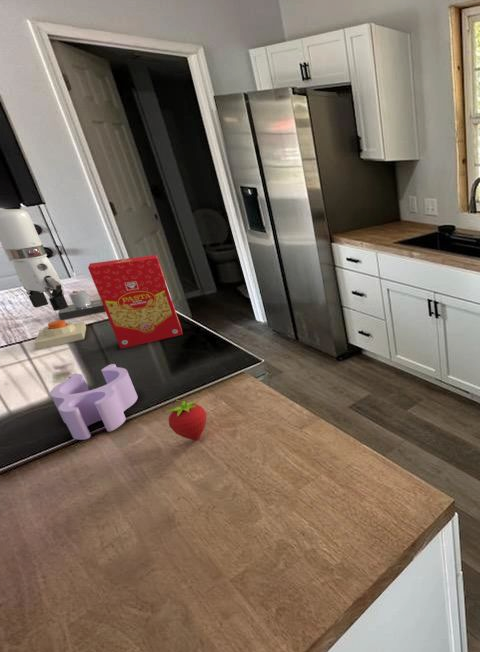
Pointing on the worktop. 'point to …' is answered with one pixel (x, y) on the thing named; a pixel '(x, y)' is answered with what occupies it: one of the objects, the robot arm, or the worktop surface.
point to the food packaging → (136, 300)
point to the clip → (94, 401)
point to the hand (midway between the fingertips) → (51, 307)
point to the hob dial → (80, 299)
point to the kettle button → (56, 324)
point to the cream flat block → (60, 335)
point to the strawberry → (188, 420)
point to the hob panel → (81, 310)
